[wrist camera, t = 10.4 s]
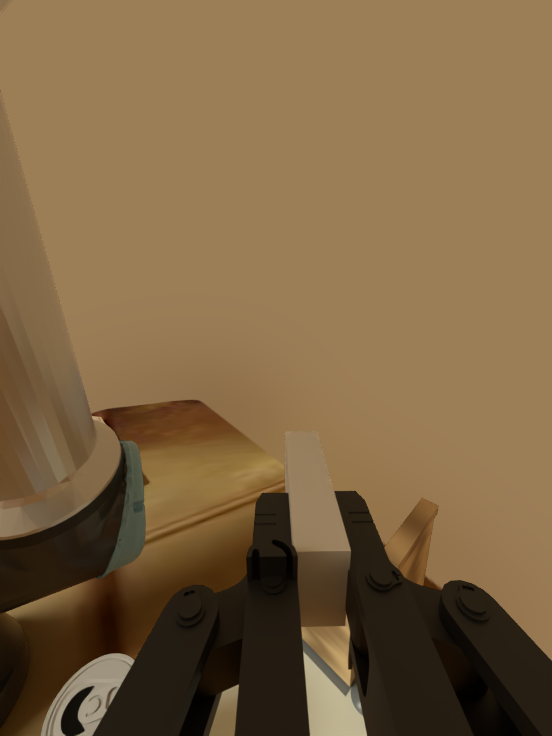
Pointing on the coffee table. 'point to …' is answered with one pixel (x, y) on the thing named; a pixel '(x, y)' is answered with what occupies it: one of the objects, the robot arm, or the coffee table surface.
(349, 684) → the fence panel
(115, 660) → the beverage can
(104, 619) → the coffee table surface
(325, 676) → the mat
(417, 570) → the panel
